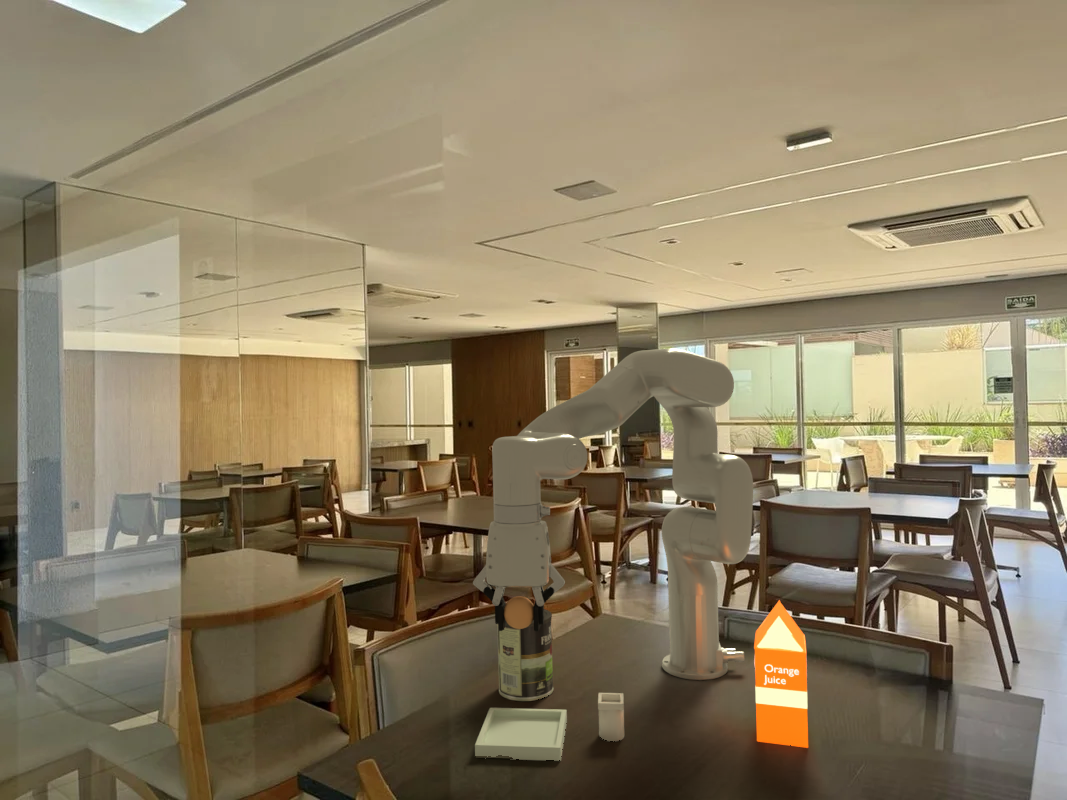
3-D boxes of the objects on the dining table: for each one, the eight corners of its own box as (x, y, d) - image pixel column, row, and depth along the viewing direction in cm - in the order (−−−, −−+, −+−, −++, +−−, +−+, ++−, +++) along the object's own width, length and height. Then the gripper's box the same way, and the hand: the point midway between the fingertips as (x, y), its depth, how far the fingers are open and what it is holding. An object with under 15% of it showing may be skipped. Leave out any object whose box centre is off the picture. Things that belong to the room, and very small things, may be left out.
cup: (624, 730, 118) (623, 693, 118) (624, 741, 114) (623, 703, 114) (599, 729, 118) (598, 692, 118) (598, 741, 114) (597, 703, 114)
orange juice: (807, 722, 119) (804, 600, 118) (809, 748, 110) (806, 617, 110) (757, 717, 121) (754, 597, 121) (755, 741, 113) (752, 613, 113)
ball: (537, 623, 117) (536, 592, 117) (533, 633, 112) (532, 601, 112) (506, 622, 118) (506, 592, 118) (501, 633, 113) (501, 601, 113)
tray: (566, 721, 121) (566, 709, 121) (560, 760, 108) (560, 747, 108) (490, 719, 123) (489, 707, 123) (475, 758, 110) (474, 744, 110)
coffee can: (557, 680, 139) (556, 607, 138) (548, 703, 129) (546, 624, 128) (505, 677, 141) (503, 605, 141) (491, 700, 131) (489, 622, 130)
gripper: (572, 510, 118) (574, 622, 118) (469, 510, 120) (471, 620, 120) (569, 518, 110) (571, 637, 111) (459, 518, 112) (462, 635, 113)
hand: (519, 627), depth 115 cm, fingers closed on ball, 4 cm apart
